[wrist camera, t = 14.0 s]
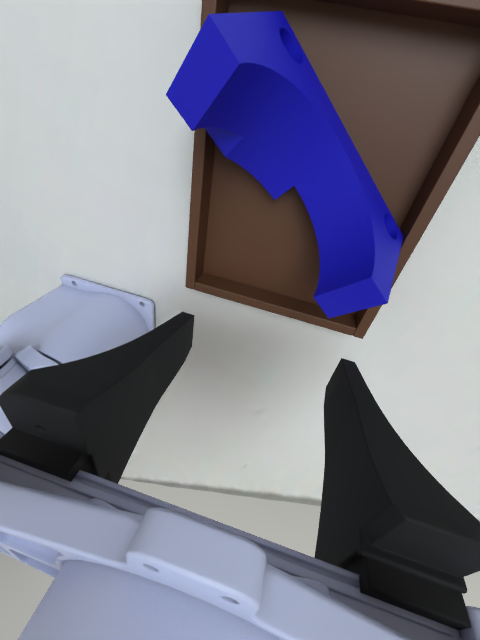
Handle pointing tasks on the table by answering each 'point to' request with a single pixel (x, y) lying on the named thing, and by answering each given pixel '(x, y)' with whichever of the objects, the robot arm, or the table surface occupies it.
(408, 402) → the table surface
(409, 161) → the tray
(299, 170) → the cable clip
